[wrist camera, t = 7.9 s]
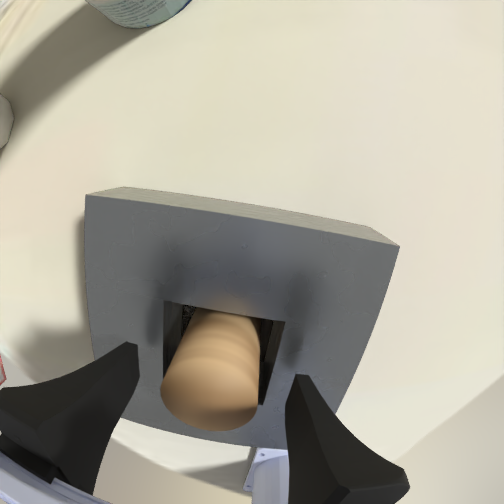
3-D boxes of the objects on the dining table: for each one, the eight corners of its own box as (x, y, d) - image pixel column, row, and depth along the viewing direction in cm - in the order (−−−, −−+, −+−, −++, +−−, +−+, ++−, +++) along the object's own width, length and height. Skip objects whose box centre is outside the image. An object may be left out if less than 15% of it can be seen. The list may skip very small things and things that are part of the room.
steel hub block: (309, 410, 19) (314, 450, 15) (126, 377, 19) (106, 412, 15) (370, 227, 15) (399, 246, 11) (123, 186, 15) (85, 194, 11)
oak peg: (253, 351, 18) (247, 437, 11) (192, 339, 18) (160, 419, 11) (267, 296, 17) (267, 376, 10) (198, 283, 17) (160, 354, 10)
